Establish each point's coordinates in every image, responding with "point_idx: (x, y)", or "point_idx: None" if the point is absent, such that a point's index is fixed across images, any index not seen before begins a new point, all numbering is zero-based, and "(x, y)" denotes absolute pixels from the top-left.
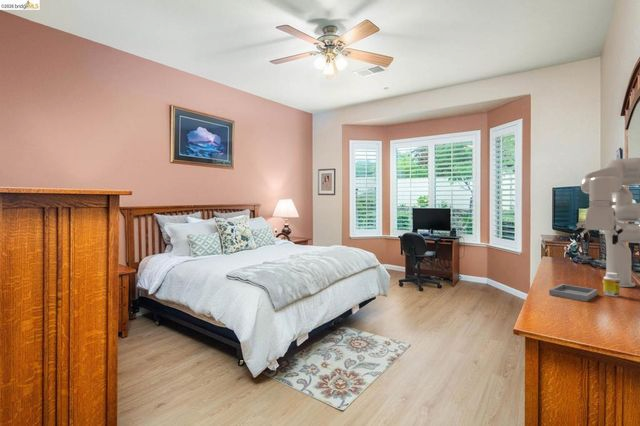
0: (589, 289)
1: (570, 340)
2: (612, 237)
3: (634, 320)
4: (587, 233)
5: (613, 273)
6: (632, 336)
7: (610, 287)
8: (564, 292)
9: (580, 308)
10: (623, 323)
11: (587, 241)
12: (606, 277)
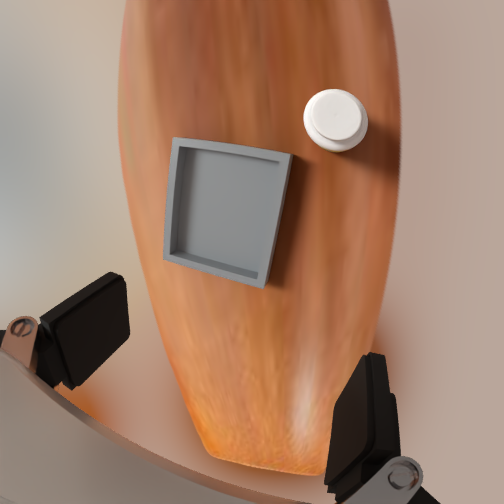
0: (263, 158)
1: (263, 468)
2: (327, 465)
3: None
4: (56, 353)
5: (345, 118)
6: None
7: (333, 151)
8: (203, 270)
9: (260, 354)
10: None
11: (123, 320)
12: (316, 136)
